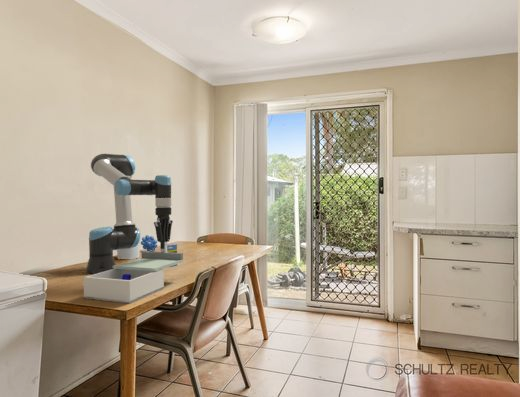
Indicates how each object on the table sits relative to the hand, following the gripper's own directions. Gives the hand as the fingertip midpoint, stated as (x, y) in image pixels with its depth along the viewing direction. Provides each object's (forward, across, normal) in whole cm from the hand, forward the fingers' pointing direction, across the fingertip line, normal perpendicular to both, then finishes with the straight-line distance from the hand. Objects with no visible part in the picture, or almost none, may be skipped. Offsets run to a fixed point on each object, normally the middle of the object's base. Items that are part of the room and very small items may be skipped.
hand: (164, 255), depth 175 cm
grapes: (+12, -70, -58) cm, 92 cm away
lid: (+3, +12, 0) cm, 12 cm away
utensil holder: (+12, -44, -56) cm, 72 cm away
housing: (+11, +28, 0) cm, 30 cm away
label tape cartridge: (+12, -27, -15) cm, 33 cm away
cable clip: (+11, +30, -1) cm, 31 cm away
